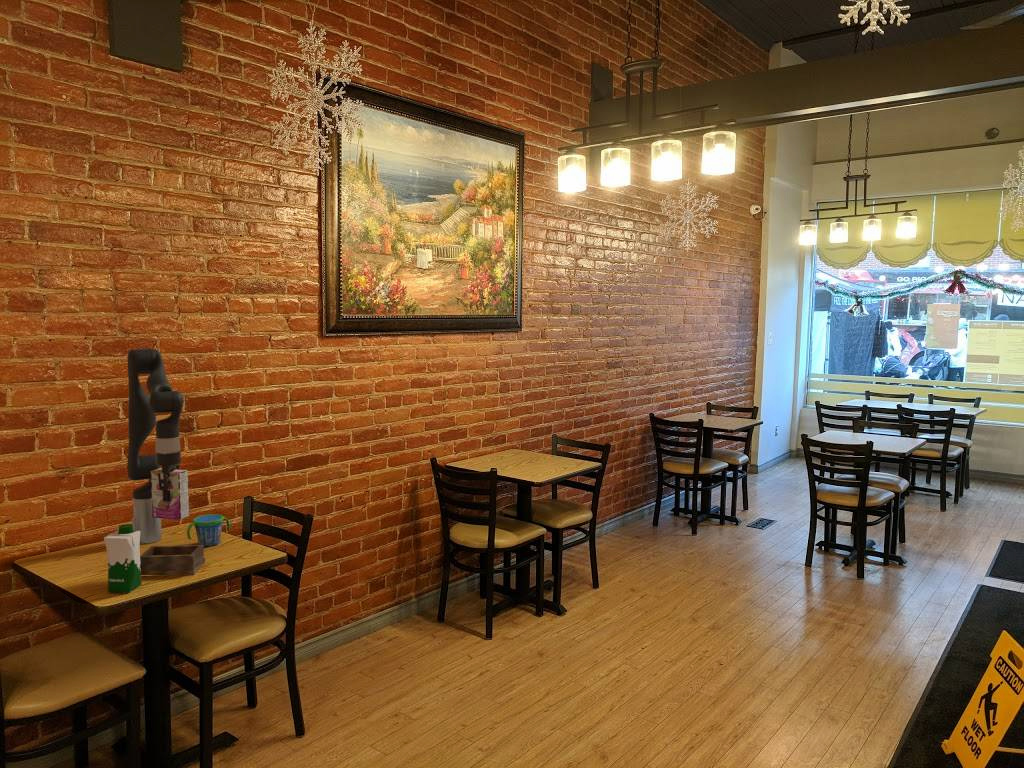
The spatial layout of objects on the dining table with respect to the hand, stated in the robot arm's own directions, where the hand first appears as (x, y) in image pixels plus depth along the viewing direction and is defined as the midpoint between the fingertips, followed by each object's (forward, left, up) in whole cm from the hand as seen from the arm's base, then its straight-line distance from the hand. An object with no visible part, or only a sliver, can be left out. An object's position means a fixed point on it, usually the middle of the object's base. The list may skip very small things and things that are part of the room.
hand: (170, 498), depth 248 cm
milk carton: (-9, -17, -25) cm, 32 cm away
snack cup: (+4, +26, -25) cm, 37 cm away
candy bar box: (0, 0, -7) cm, 7 cm away
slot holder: (0, 0, -25) cm, 25 cm away
